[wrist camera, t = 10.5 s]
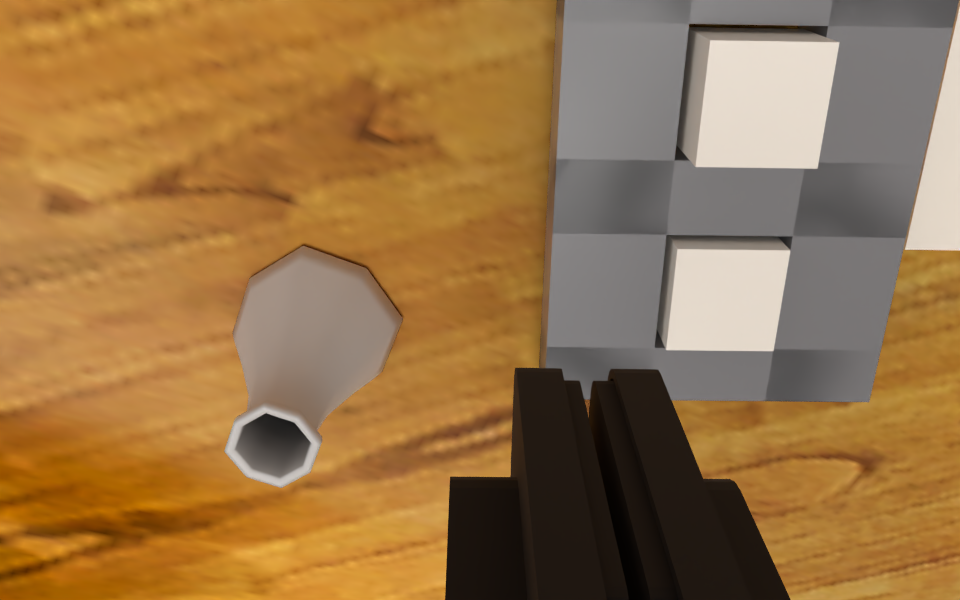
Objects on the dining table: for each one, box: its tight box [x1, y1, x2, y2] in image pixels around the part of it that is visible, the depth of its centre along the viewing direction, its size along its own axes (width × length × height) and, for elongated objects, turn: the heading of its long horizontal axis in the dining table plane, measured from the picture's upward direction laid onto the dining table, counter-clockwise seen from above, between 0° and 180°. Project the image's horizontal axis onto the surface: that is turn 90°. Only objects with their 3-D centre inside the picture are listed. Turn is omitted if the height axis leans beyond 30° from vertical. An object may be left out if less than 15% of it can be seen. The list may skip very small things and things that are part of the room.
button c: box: [657, 235, 790, 351], centre depth 37 cm, size 4×4×4 cm
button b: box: [676, 27, 840, 169], centre depth 33 cm, size 4×4×4 cm
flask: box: [224, 246, 403, 488], centre depth 35 cm, size 7×7×10 cm
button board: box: [539, 0, 959, 402], centre depth 34 cm, size 14×26×3 cm, turn 179°
